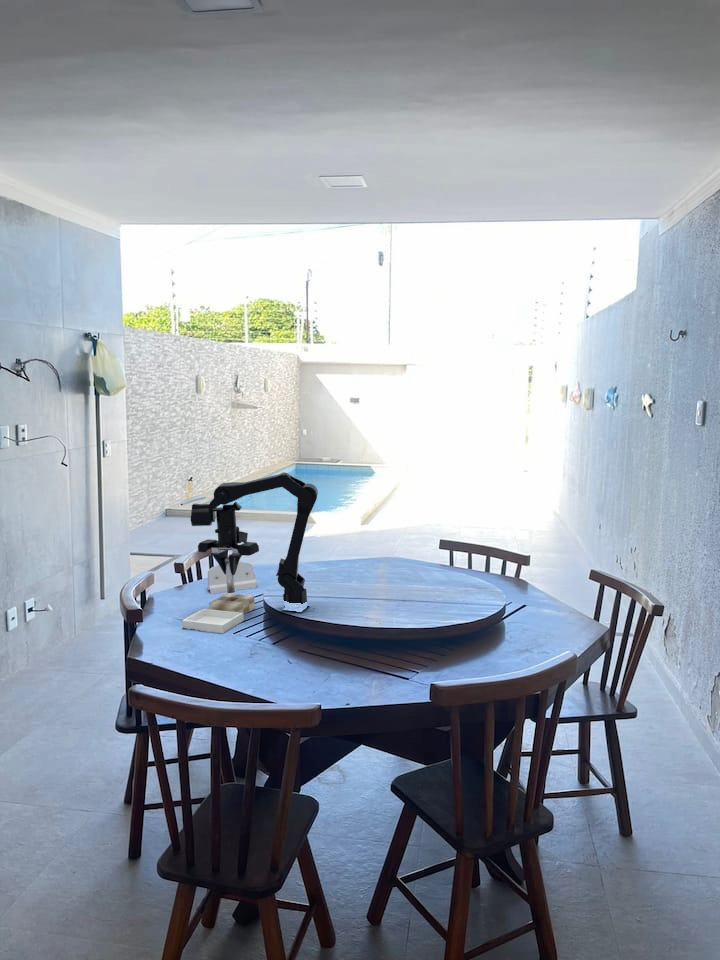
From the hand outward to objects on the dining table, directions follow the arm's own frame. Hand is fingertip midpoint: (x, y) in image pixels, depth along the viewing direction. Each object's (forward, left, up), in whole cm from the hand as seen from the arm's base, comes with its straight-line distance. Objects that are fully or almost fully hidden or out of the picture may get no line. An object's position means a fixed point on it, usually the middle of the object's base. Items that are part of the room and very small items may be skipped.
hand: (229, 574), depth 236 cm
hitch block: (0, 0, -12) cm, 12 cm away
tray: (-1, +12, -12) cm, 17 cm away
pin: (0, 0, -6) cm, 6 cm away
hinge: (+14, -22, -12) cm, 29 cm away
